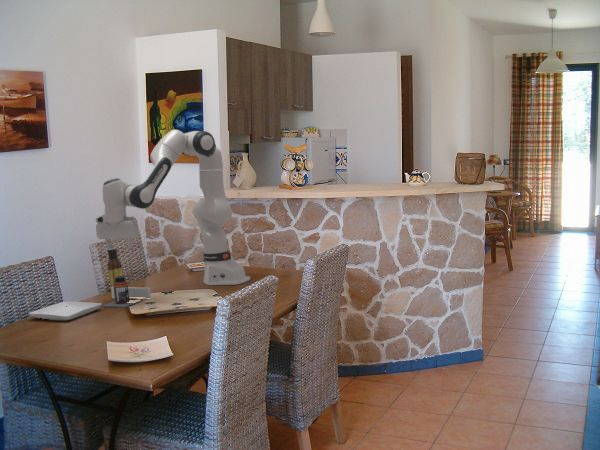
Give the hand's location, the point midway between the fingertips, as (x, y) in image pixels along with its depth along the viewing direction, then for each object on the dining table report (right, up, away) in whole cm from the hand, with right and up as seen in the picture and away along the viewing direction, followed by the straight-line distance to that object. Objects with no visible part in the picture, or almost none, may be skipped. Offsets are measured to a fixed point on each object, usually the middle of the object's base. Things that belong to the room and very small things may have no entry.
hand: (120, 248), depth 312 cm
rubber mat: (+1, -24, 0) cm, 24 cm away
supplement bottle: (+1, -23, 0) cm, 23 cm away
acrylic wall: (+3, -22, +9) cm, 24 cm away
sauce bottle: (-9, -21, +30) cm, 37 cm away
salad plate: (-19, -27, -13) cm, 36 cm away
